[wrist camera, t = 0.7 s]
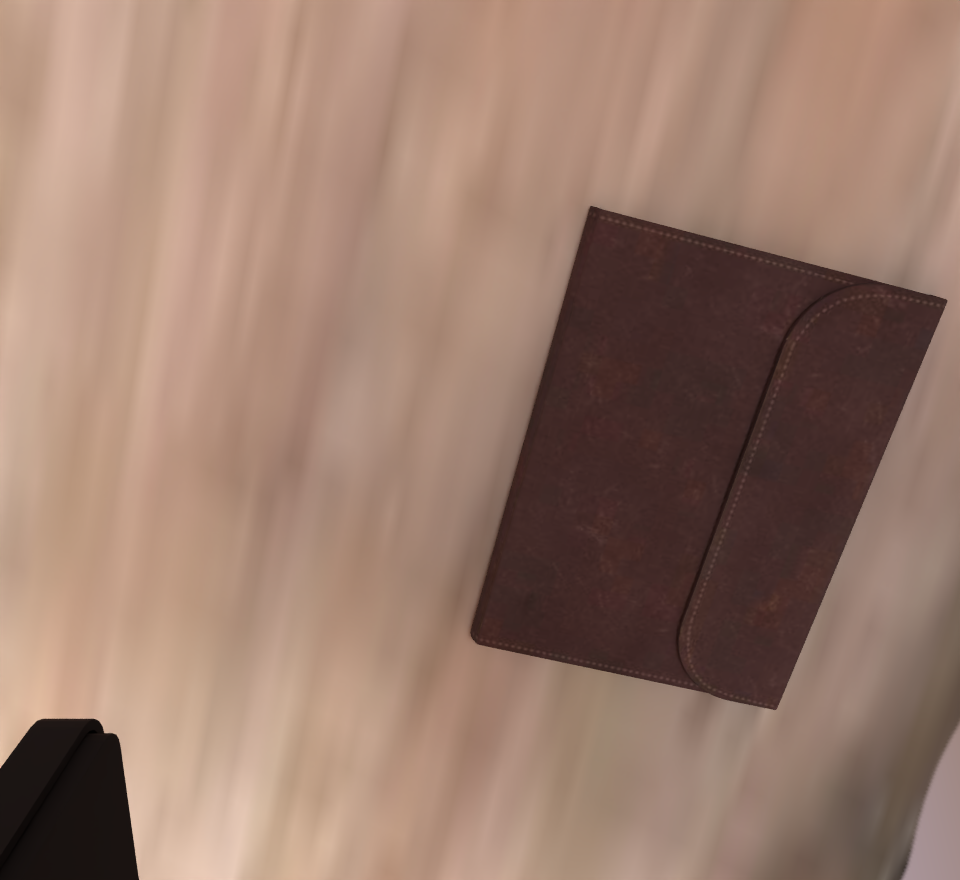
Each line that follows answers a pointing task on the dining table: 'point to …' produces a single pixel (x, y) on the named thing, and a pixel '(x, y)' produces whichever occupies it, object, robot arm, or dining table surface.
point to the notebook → (696, 458)
